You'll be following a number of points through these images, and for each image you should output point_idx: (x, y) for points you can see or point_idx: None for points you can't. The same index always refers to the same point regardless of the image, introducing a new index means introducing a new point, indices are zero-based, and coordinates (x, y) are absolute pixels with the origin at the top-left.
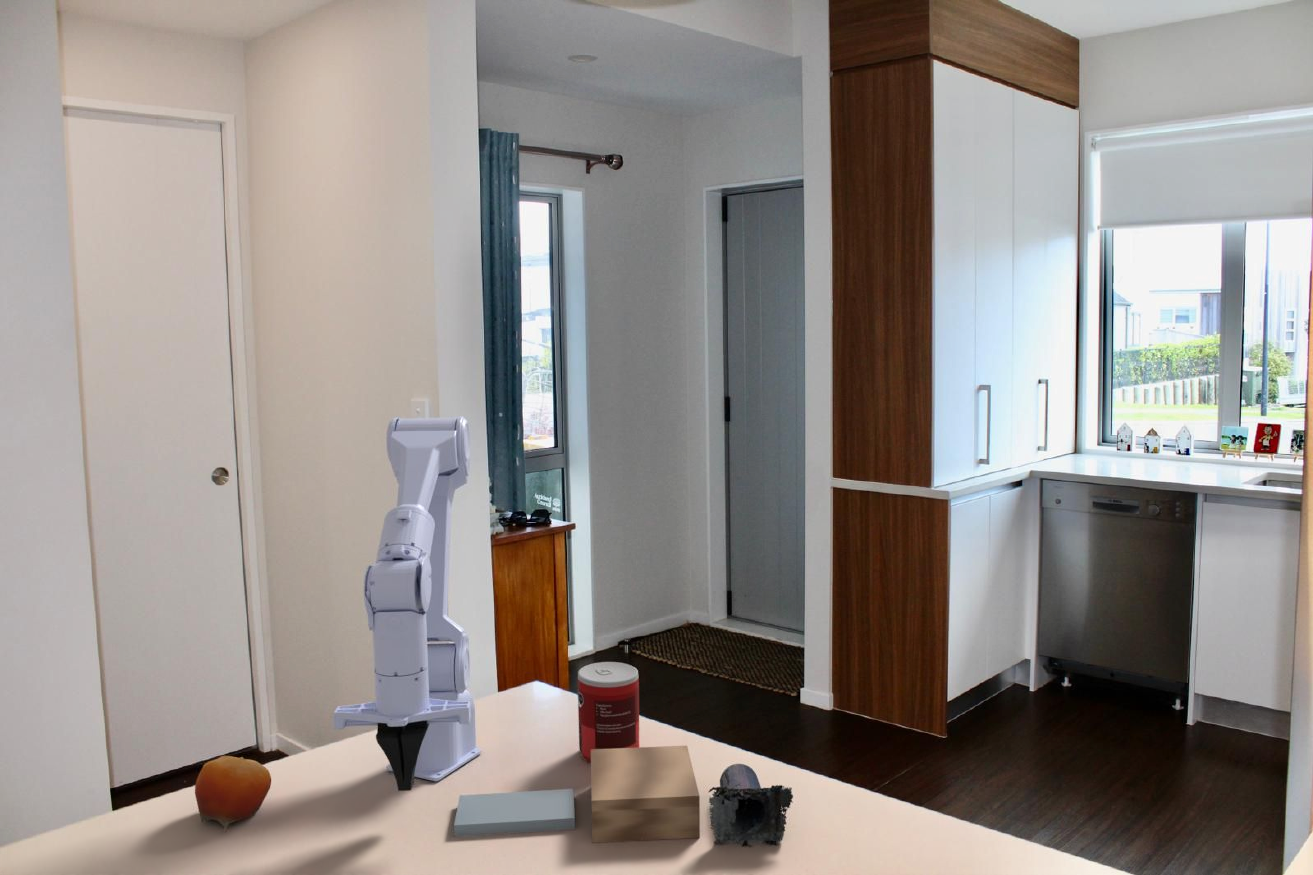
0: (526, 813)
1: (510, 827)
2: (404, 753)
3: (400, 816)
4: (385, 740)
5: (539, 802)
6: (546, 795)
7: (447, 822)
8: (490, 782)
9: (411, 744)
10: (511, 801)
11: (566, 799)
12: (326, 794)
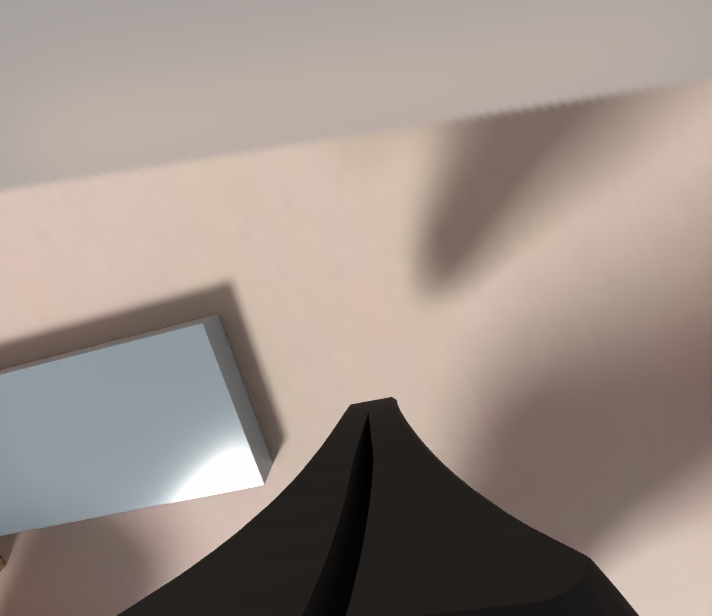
0: (37, 408)
1: (71, 354)
2: (330, 510)
3: (409, 399)
4: (500, 592)
5: (36, 467)
6: (36, 501)
7: (269, 382)
8: None
9: (238, 579)
10: (110, 466)
11: None
12: (666, 491)
